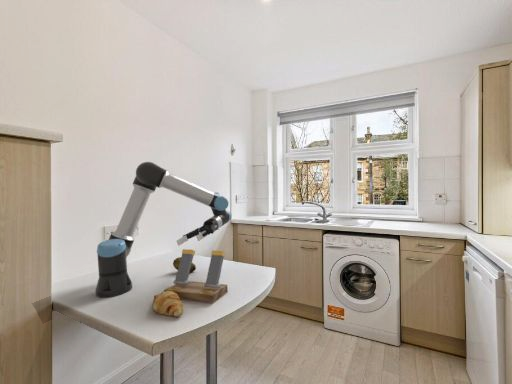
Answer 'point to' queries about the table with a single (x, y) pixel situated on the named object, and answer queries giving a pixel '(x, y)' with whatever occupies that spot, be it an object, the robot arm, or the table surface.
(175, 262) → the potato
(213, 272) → the lever
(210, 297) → the wooden base board
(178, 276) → the lever
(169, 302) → the croissant
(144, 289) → the table surface
